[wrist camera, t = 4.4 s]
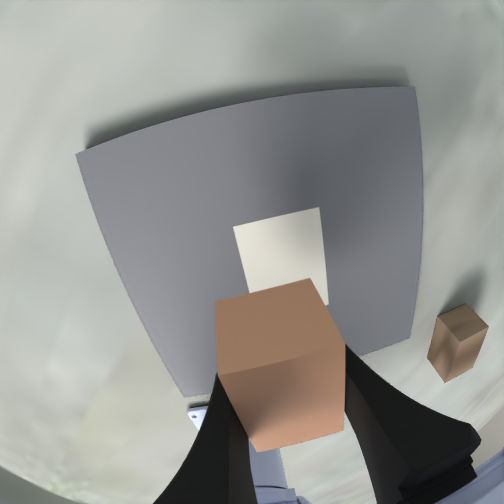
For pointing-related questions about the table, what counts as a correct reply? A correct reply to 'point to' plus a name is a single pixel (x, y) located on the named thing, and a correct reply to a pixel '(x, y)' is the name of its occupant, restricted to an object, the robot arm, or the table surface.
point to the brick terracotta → (281, 364)
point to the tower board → (266, 216)
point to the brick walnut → (456, 342)
